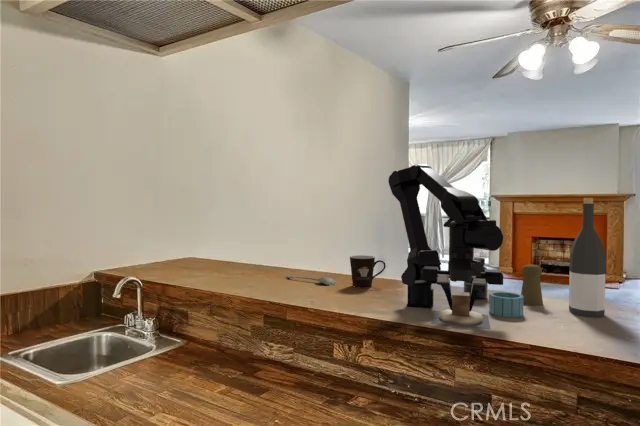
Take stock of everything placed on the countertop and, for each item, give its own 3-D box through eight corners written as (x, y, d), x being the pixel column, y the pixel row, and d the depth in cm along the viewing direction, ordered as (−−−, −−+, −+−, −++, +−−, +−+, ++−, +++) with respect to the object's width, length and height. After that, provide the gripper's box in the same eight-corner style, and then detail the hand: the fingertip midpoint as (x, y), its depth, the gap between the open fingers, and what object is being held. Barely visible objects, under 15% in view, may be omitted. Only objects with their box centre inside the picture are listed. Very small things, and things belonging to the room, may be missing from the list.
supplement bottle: (463, 298, 132) (463, 258, 131) (464, 294, 138) (464, 256, 138) (487, 300, 129) (488, 259, 129) (487, 295, 136) (488, 257, 136)
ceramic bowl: (490, 316, 111) (490, 297, 111) (488, 309, 119) (488, 291, 119) (524, 319, 109) (525, 299, 108) (520, 311, 116) (521, 293, 116)
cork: (545, 306, 123) (546, 266, 122) (522, 305, 124) (523, 266, 124) (539, 301, 129) (540, 263, 128) (517, 300, 130) (517, 263, 130)
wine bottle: (561, 309, 119) (563, 198, 118) (590, 309, 119) (592, 198, 118) (581, 317, 111) (583, 197, 110) (612, 317, 111) (614, 197, 110)
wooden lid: (438, 322, 104) (438, 296, 104) (440, 312, 114) (440, 288, 114) (483, 326, 101) (483, 299, 101) (481, 315, 111) (481, 291, 111)
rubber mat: (431, 325, 103) (431, 323, 103) (434, 312, 116) (434, 310, 116) (490, 330, 99) (490, 328, 99) (487, 316, 112) (487, 314, 112)
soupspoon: (330, 290, 150) (341, 287, 155) (331, 280, 150) (341, 278, 155) (281, 280, 163) (292, 279, 168) (281, 271, 163) (293, 270, 168)
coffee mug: (346, 287, 149) (346, 257, 148) (354, 282, 157) (354, 254, 156) (379, 290, 144) (380, 259, 144) (386, 285, 152) (386, 256, 152)
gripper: (418, 248, 102) (418, 315, 103) (505, 251, 96) (504, 322, 97) (423, 244, 113) (422, 304, 113) (501, 246, 107) (501, 310, 108)
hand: (460, 310), depth 108 cm, fingers closed on wooden lid, 4 cm apart
